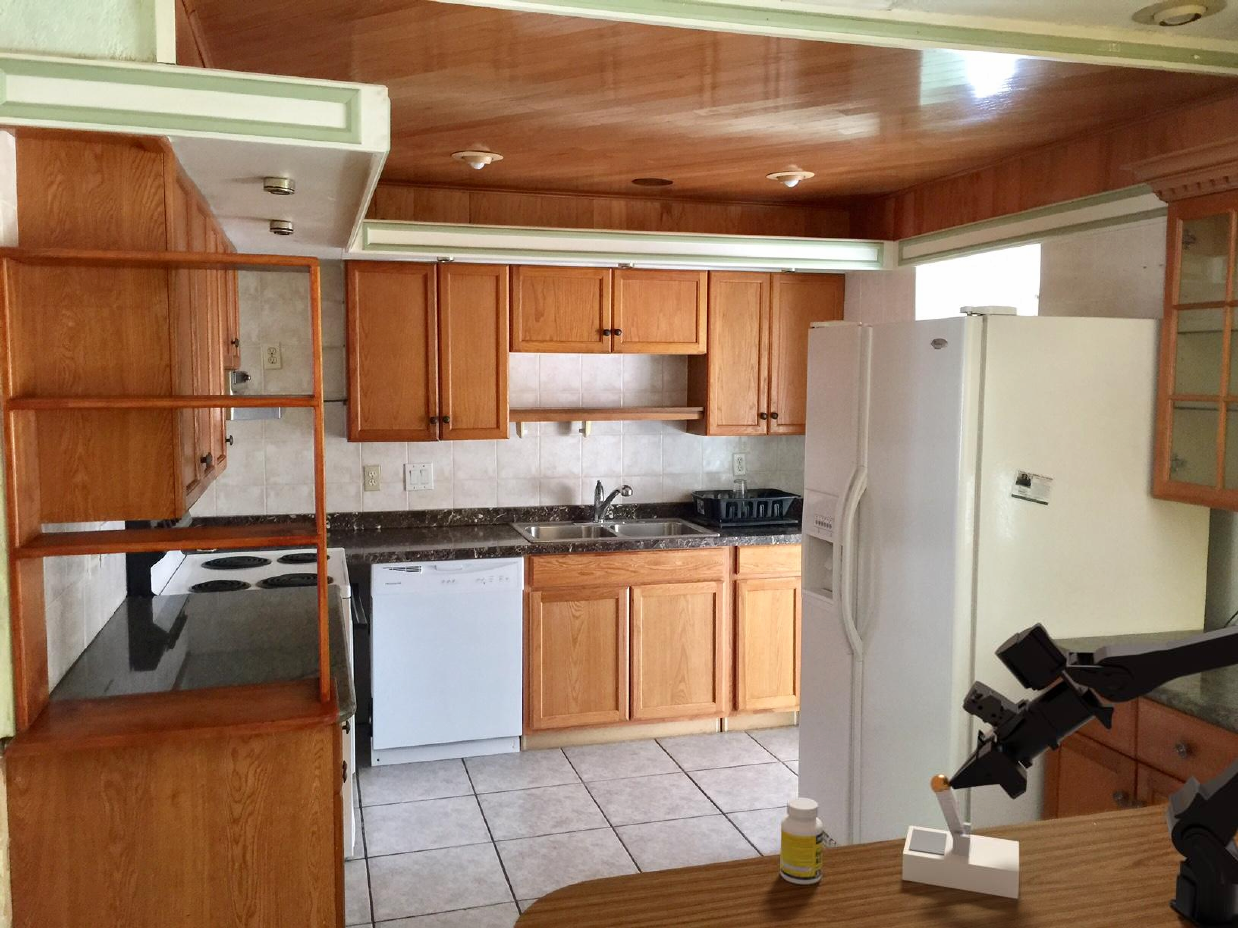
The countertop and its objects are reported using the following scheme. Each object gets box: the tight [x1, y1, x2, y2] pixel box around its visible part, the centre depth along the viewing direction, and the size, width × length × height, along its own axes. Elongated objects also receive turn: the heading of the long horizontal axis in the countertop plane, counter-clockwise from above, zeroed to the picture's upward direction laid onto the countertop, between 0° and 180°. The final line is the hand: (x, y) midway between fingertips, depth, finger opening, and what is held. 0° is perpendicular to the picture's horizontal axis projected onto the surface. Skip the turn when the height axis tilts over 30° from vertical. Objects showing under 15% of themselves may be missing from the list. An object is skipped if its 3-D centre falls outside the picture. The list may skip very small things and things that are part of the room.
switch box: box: [902, 821, 1020, 900], centre depth 135 cm, size 14×9×6 cm, turn 69°
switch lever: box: [929, 773, 966, 838], centre depth 135 cm, size 3×3×10 cm
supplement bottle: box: [779, 797, 824, 885], centre depth 134 cm, size 5×5×10 cm
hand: (951, 785), depth 135 cm, fingers closed, pressing on switch lever
